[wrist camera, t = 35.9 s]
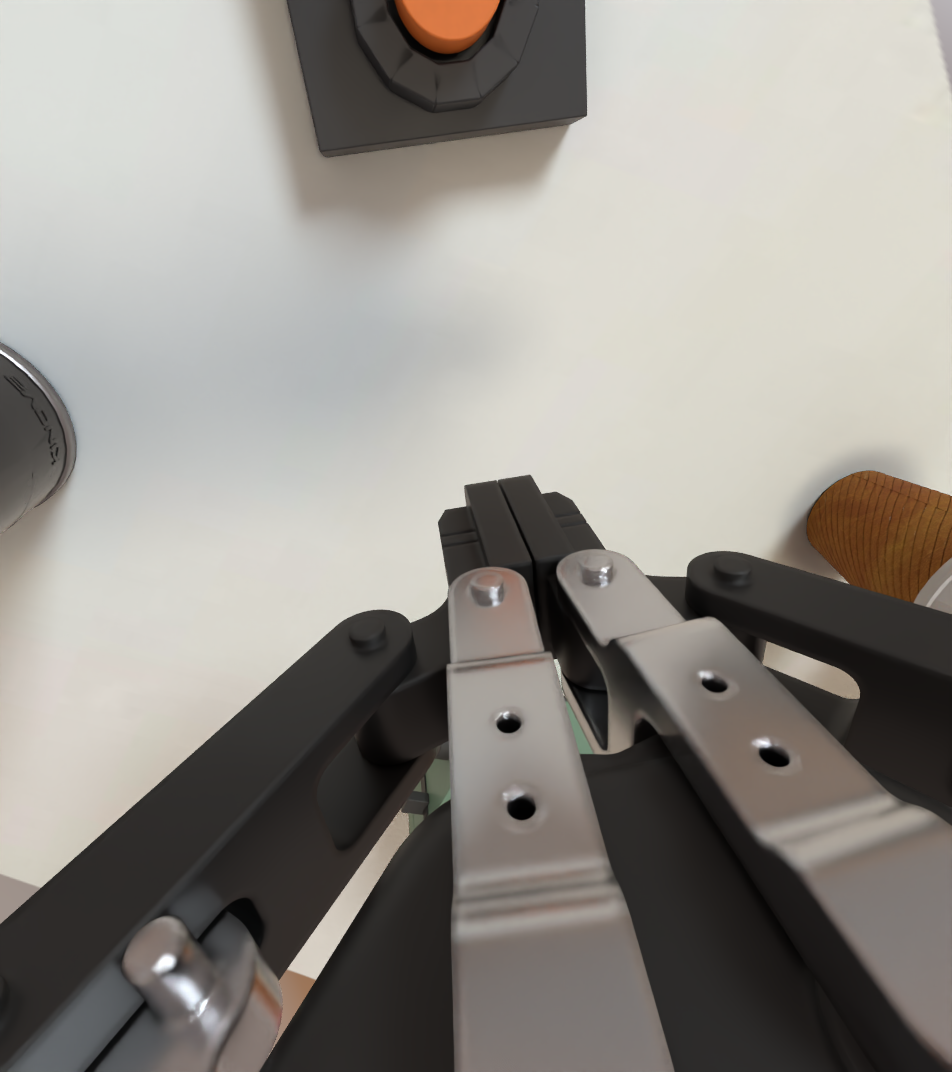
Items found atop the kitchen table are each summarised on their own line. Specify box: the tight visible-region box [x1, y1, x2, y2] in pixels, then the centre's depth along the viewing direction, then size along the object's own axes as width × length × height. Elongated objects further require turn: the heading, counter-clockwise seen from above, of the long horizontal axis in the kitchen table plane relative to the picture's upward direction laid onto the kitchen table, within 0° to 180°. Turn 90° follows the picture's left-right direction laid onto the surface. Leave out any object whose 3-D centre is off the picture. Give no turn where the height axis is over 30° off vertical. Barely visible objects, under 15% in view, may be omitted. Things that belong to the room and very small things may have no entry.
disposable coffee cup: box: [807, 471, 952, 614], centre depth 33 cm, size 10×10×12 cm
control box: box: [287, 0, 587, 157], centre depth 21 cm, size 11×8×4 cm
